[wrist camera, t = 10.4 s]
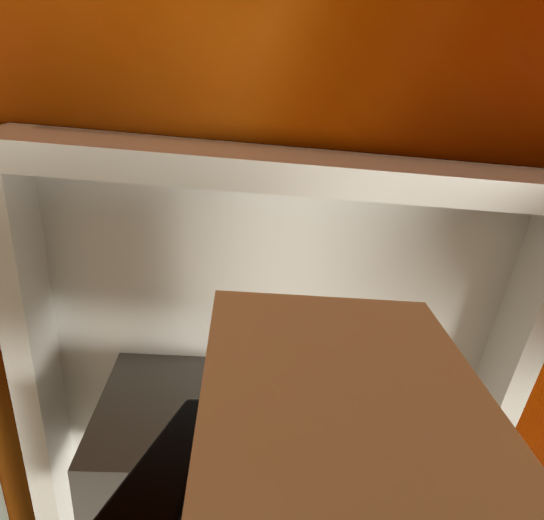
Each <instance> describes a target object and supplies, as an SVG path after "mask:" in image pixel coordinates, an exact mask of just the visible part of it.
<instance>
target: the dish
mask: <svg viewBox="0 0 544 520" xmlns="http://www.w3.org/2000/svg"><path fill="white" fill-rule="evenodd" d="M0 520H9V517H8V512H7V508H6V504H5V500H4V496H3V492H2V487H1V483H0Z"/></svg>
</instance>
